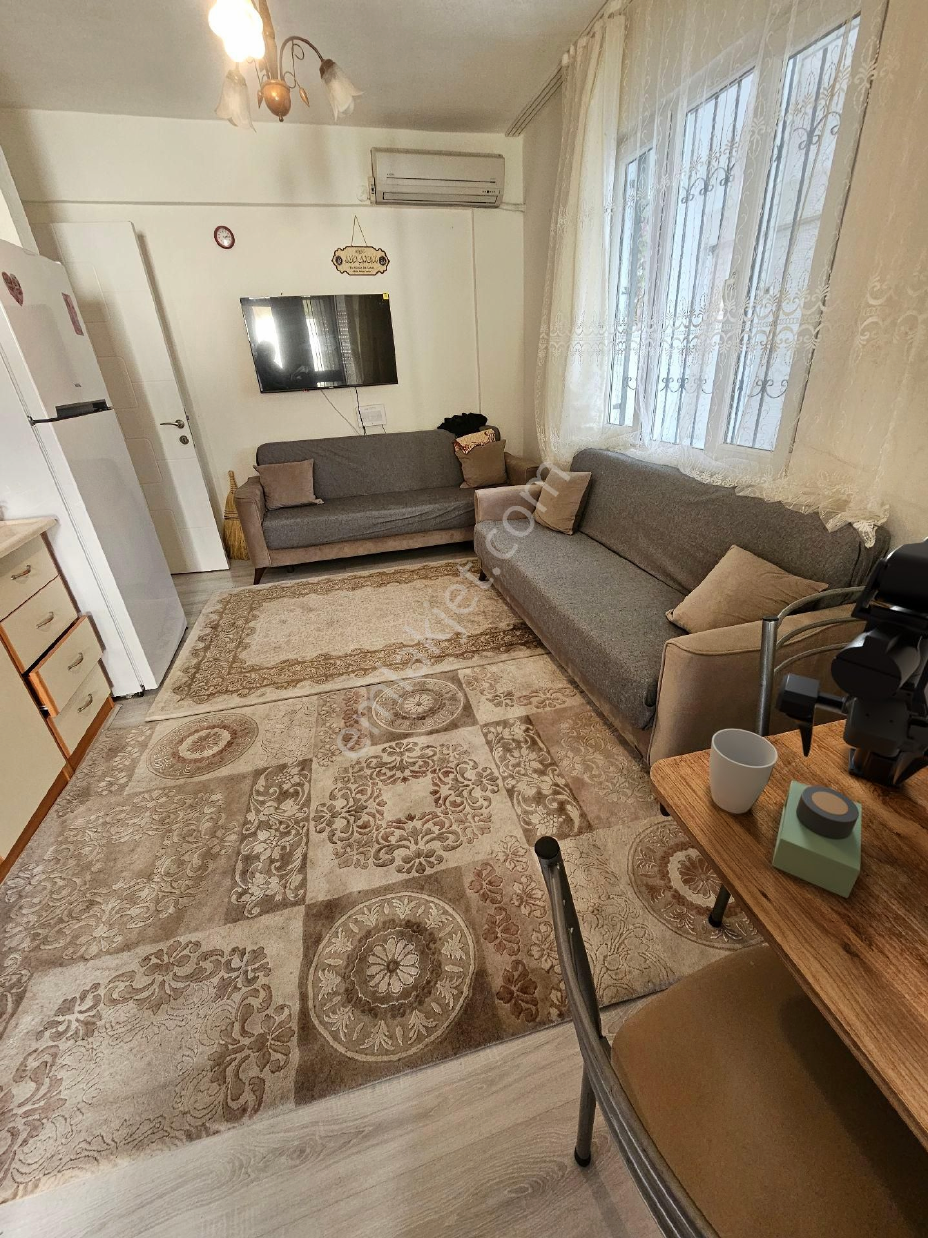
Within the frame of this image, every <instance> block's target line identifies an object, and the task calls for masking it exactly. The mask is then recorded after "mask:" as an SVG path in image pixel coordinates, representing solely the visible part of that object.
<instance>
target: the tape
mask: <svg viewBox="0 0 928 1238" xmlns="http://www.w3.org/2000/svg"><path fill="white" fill-rule="evenodd" d="M809 786H810V787H807V788H805V789H804V790H803V791H802V794H801V796H800V799H799V802H798V805H797V808H796V815H797V817H798V819H799V820H800V822H801V823H802V824H803V825H804V826H805V827H806V828H808V829H809V830H811V831H812V832H814V833H816V834H818V835H820V836H823V837H826V838H830V839H845V838H847V837H849V836H850V835H851V833H852V831H853V828H854V826H855V823H856V821H857V819H858V816H859V811H858V808H857V806H856V805H855V804H854V802H855V801H854V802H853V800H852V799H851V798H849V797H848V796H847V795H845V794H843V793H842V792H840V791H839V790H836V789H834V788H830V787H827V786H824V785H809Z"/></svg>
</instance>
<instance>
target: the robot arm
mask: <svg viewBox="0 0 928 1238" xmlns="http://www.w3.org/2000/svg"><path fill="white" fill-rule="evenodd" d="M872 600H874V601H875V602H878V603H882V604H886V605H889V606H891V607H886V606H881V605H877V604H873V603H871V601H872ZM850 618H853V619H857V620H860V621H863V622H866V623H865V626H864V629H863V630H862V632H861V633H859V634H858V635H857V636H856V637H855V638H854V639H853V640H852V641H850V643H848V644H847V645H846V646H845V647H844V648H842V649H841V650H840V651H839V652H838V653H837V654H836V655H835V656H834V658H833V659H832V661H831V664H830V674H831V675H830V676H831V677H832V680H833V681H834V683H835V684H836V685H837V687H838V688H839V689H840V690H842V691H843V692H844V695H843V696H838V695H835V694H831V693H827V692H824V691H819V689H820V683H821V680H819V679H814V678H810V677H806V676H802V675H797V674H793V673H791V672H789V673H787V674H785V675H783V676H782V679H781V683H780V686H779V690H778V693H777V696H776V701H775V704H774V709H775V710H776V711H778V712H780V713H783V714H785V717H786V718H787V719H789V720H792V721H794V722H795V723H796V725H797V727H798V729H799V734H800V738H801V739H800V740H801V745H802V752H803V757H805V758H808V757H809V755H810V752H811V749H812V740H813V733H814V725H815V718H816V708H817V709H820V710H824V711H828V712H831V713H835V714H839V715H843V716H846V719H845V724H844V730H843V734H842V740H843V741H844V743H845V744H846V745H848V746H850V748H849V750H848V766H847V772H848V773H850V774H852V775H854V776H857V777H860V778H864V779H867V780H870V781H872V782H875V783H878V784H883V785H884V786H885V785H886V786H888V787H891V788H895V789H899V790H901V789H902V787H903V783H904V782H905V781H907V780H909V779H910V778H911V777H913V776H914V775H916V774H917V773H919V772H920V771H922V769H925V768H927V767H928V535H927V536H926V537H925V538H924V539H923V540H922V541H921V542H911V543H904V544H902V545H900V546H898V547H897V548H895V549H894V550H893V551H892V552H890V553H889V554H888V556H887V557H886V558H884V557H882V558H880V559H879V560H878V562H877V563H876V565H875V566H874V568H873V570H872V572H871V574H870V576H869V578H868V580H867V582H866V584H865V586H864V587H863V590H862V592H861V594H860V595H859V597H858V599H857V601H856V602H855V605H854V607H853V609H852V611H851V613H850Z"/></svg>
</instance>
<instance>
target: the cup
mask: <svg viewBox="0 0 928 1238" xmlns="http://www.w3.org/2000/svg"><path fill="white" fill-rule="evenodd" d="M710 745H711V746H710V754H709V760H708V769H709V770H708V776H709V777H708V781H709V782H708V783H709V789H710V792H711V797H712V800H713V802H714V803H715V804H716V805H717V807H719V808H720V809H722V810H723V811H726V812H727V813H728V812H729V813H732V814H744V813H746V812H748V811H749V810H750V809H751V807H753V806H754V805H755V804H756V802H757V801H758V800H759V798H760V797H761V795H762V793H763V792H764V790H765V788H766V787H767V785H768V783H769V781H770V778H771V776H772V774H773V771H774V768H775V766H776V763H777V761H778V757H779V756H778V751H777V749H776V747H775V746H774V745H773V743H771V742H770V741H769V740H768V739H766V738H765V737H763V736H761V735H759V734H757V733H754V732H752V731H749V730H746V729H741V728H725V729H720V730H717V732H715V733H714V734H713V736H712V738H711V744H710Z"/></svg>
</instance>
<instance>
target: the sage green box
mask: <svg viewBox="0 0 928 1238" xmlns="http://www.w3.org/2000/svg"><path fill="white" fill-rule="evenodd" d="M810 786H811V785H807V784H804V783H802V782H799V781H796V780H791V782H790V785H789V788H788V791H787V794H786V797H785V800H784V803H783V807H782V812H781V817H780V821H779V827H778V832H777V837H776V842H775V847H774V852H773V857H772V862H771V866H772V867H773V868H775V869H778V870H780V871H783V872H785V873H787V874H789V875H792V876H794V877H797V878H799V879H801V880H804V881H806V882H808V883H811V884H813V885H815V886H818V887H820V888H823V889H824V890H826V891H829V892H832V893H834V894H835V895H838V896H840V897H843V898H845V899H848V898H849V896H850V894H851V892H852V890H853V888H854V886H855V883H856V881H857V879H858V877H859V875H860V872H861V856H862V855H861V854H862V853H861V851H862V817H863V816H862V815H863V804H862V803H860V802H857V801H853V800H852V801H853V802H854V804H855V805H856V806H857V808H858V811H859V816H858V819H857V821H856V823H855V826H854V828H853V831H852V833H851V835H850V836H849V837H847V838H845V839H830V838H826V837H823V836H820V835H818V834H816V833H814V832H812V831H811V830H809V829H808V828H806V827H805V826H804V825H803V824H802V823H801V822H800V820H799V819H798V817H797V815H796V808H797V805H798V802H799V799H800V796H801V794H802V791H803V790H804V789H805V788H807V787H810Z"/></svg>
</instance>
